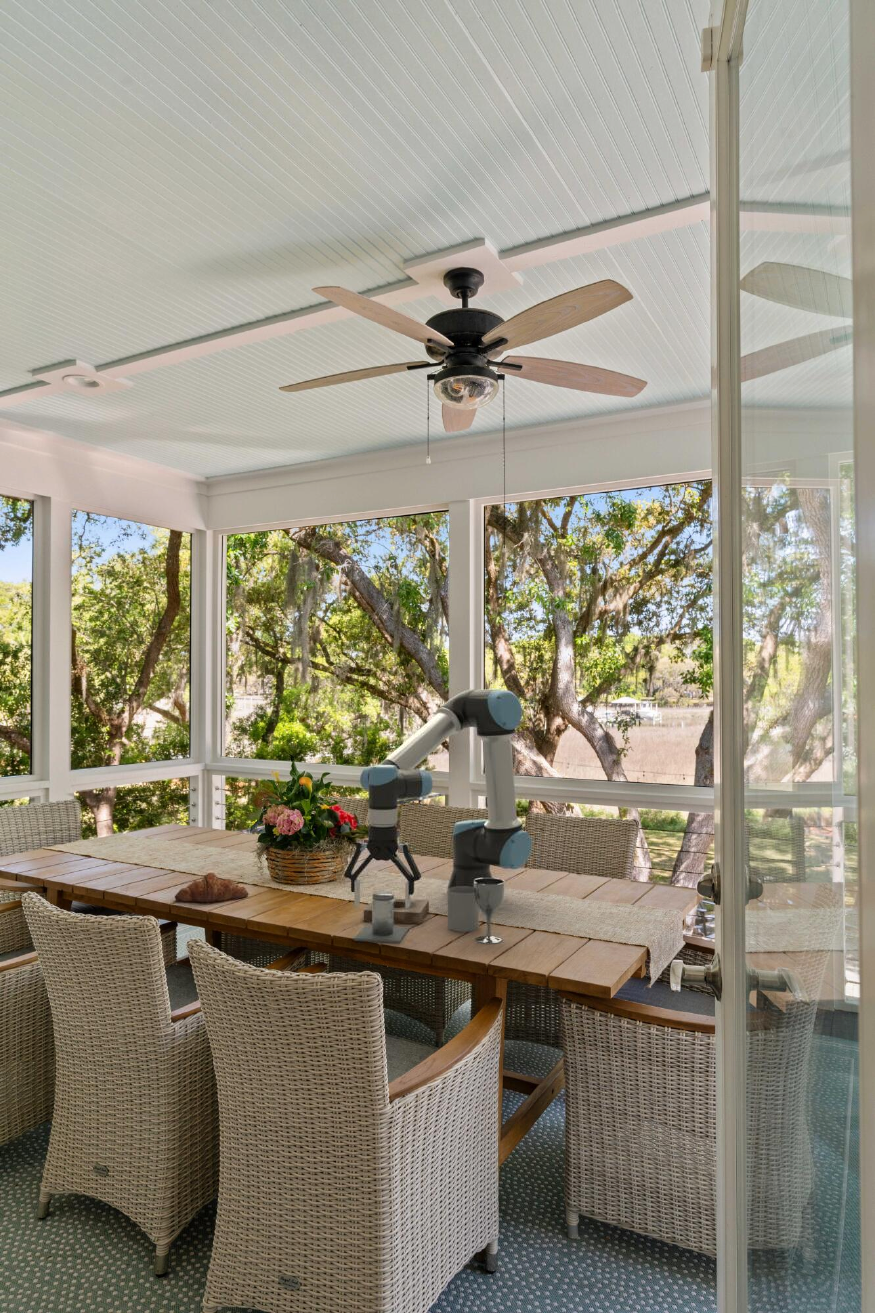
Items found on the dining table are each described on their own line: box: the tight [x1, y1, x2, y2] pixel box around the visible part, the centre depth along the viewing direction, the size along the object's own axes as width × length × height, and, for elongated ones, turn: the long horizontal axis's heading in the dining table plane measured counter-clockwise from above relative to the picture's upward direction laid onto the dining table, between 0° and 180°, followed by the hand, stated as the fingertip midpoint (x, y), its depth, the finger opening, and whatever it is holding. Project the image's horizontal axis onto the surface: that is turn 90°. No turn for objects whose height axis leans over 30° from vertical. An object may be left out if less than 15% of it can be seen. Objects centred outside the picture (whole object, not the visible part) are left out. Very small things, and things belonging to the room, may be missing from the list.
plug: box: [371, 890, 395, 936], centre depth 217 cm, size 6×6×10 cm
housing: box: [363, 897, 430, 925], centre depth 236 cm, size 16×14×3 cm
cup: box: [447, 886, 480, 933], centre depth 225 cm, size 8×8×10 cm
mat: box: [353, 924, 410, 944], centre depth 217 cm, size 12×12×1 cm
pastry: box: [174, 872, 250, 904], centre depth 254 cm, size 17×15×8 cm
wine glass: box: [474, 877, 506, 945], centre depth 214 cm, size 8×8×15 cm
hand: (382, 906), depth 217 cm, fingers open, 13 cm apart
